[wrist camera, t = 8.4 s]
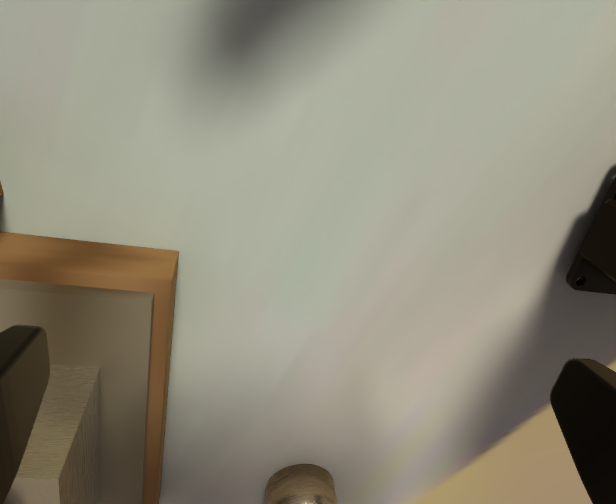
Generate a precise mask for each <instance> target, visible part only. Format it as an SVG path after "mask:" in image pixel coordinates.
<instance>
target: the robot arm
mask: <svg viewBox="0 0 616 504" xmlns="http://www.w3.org/2000/svg"><path fill="white" fill-rule="evenodd" d="M579 277H580V279H579V280H577V279H578V278H579ZM576 280H577V281H576ZM566 283H567V284H568V285H569V286H570V287H571V288H573V289H574V290H580V291H589V292H598V293H607V294H616V178H615V180H614V182H613V184H612V186H611V188H610V190H609V192H608V194H607V196H606V198H605V200H604V202H603V204H602V206H601V208H600V210H599V212H598V214H597V216H596V218H595V220H594V222H593V224H592V226H591V228H590V230H589V232H588V234H587V236H586V238H585V240H584V242H583V244H582V246H581V248H580V250H579V252H578V254H577V256H576V258H575V260H574V262H573V264H572V266H571V268H570V270H569V272H568V274H567V276H566ZM49 377H50V360H49V351H48V342H47V334H46V331H45V329H44V328H43V327H41V326H34V325H13V326H11V327H9V328H7V329H6V330H4V331H2V332H0V504H4V501H5V499H6V497H7V495H8V493H9V491H10V489H11V486H12V484H13V482H14V479H15V477H16V475H17V472H18V469H19V467H20V464H21V461H22V458H23V455H24V452H25V450H26V447H27V444H28V441H29V438H30V435H31V432H32V429H33V426H34V423H35V420H36V417H37V414H38V411H39V408H40V405H41V402H42V399H43V397H44V394H45V391H46V388H47V385H48V381H49ZM550 401H551V405H552V408H553V410H554V413H555V415H556V418H557V420H558V423H559V425H560V428H561V430H562V433H563V436H564V438H565V441H566V443H567V445H568V448H569V450H570V453H571V456H572V458H573V460H574V463H575V466H576V468H577V471H578V473H579V475H580V477H581V480H582V482H583V484H584V487H585V489H586V490H587V493H588V495H589V497H590V499H591V501H592V503H593V504H616V372H614V371H613V370H611V369H609V368H607V367H605V366H604V365H602V364H600V363H598V362H597V361H594V360H591V359H579V358H573V359H569V360H568V361H567V362H566V363H565V365H564V366H563V368H562V370H561V372H560V374H559V376H558V378H557V380H556V382H555V384H554V386H553V388H552V390H551V394H550Z"/></svg>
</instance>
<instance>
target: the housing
mask: <svg viewBox="0 0 616 504" xmlns="http://www.w3.org/2000/svg"><path fill="white" fill-rule="evenodd" d="M99 502H100V367H87V366H71V365H55V364H50V377H49V381H48V385H47V388H46V391H45V394H44V397H43V399H42V402H41V405H40V408H39V411H38V414H37V417H36V420H35V423H34V426H33V429H32V432H31V435H30V438H29V441H28V444H27V447H26V450H25V452H24V455H23V458H22V461H21V464H20V467H19V469H18V472H17V475H16V477H15V479H14V482H13V484H12V486H11V489H10V491H9V493H8V495H7V497H6V499H5V501H4V504H99Z"/></svg>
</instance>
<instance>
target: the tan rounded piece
mask: <svg viewBox="0 0 616 504" xmlns="http://www.w3.org/2000/svg"><path fill="white" fill-rule="evenodd" d="M266 501H267V504H337V499H336V494H335V489H334V483H333V478H332V476H331V475H330V473H329V472H328V471H327V470H325V469H324V468H322V467H319V466H316V465H311V464H298V465H293V466H289V467H286V468H284V469H282V470H280V471H278V472H277V473H275V474H274V475H273V476H272V477H271V478H270V480H269V481H268V483H267V486H266Z"/></svg>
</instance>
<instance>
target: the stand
mask: <svg viewBox="0 0 616 504" xmlns="http://www.w3.org/2000/svg"><path fill="white" fill-rule="evenodd" d="M178 254H179V251H172V250H162V249H153V248H144V247H135V246H125V245H116V244H107V243H98V242H88V241H79V240H70V239H61V238H51V237H42V236H33V235H24V234H14V233H5V232H0V332H2V331H4V330H6V329H7V328H9V327H11V326H13V325H34V326H41V327H43V328H44V329H45V331H46V334H47V342H48V351H49V360H50V364H55V365H71V366H87V367H100V502H99V504H158V503H159V497H160V484H161V471H162V458H163V446H164V433H165V420H166V407H167V394H168V382H169V369H170V356H171V343H172V330H173V318H174V305H175V292H176V279H177V267H178Z"/></svg>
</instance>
